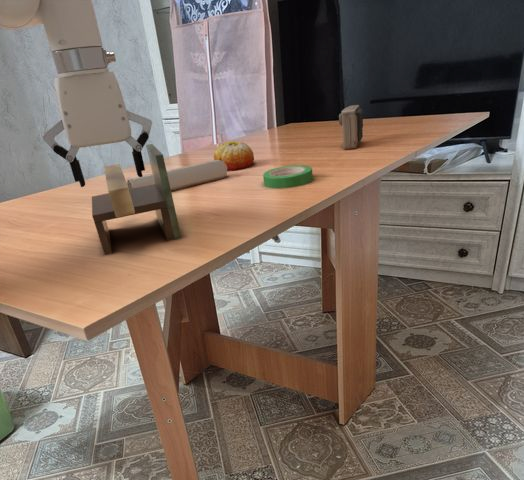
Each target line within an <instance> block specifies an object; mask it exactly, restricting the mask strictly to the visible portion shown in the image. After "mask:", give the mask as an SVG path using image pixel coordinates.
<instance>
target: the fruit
mask: <svg viewBox="0 0 524 480" xmlns="http://www.w3.org/2000/svg"><path fill="white" fill-rule="evenodd" d="M213 160H221V161H223V162H224V163H225V164H226V166H227V172H233V171H234V172H235V171H237V170H244V169H247V168H250V167H252V166H253V165H254V162H255V156H254V152H253V150H252V148H251V147H250V145H248V144H246V143H244V142H243V141H242V142H241V141H240V142H236V141H227V142H223V143H222V144H221V145H218V147H217V148H216V150H215V152H214V153H213Z"/></svg>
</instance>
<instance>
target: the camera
mask: <svg viewBox="0 0 524 480" xmlns="http://www.w3.org/2000/svg"><path fill="white" fill-rule="evenodd" d="M363 112H364V110H363V108H361V107H360V105H359V104H353V105H349V106H347V107H344V108H343V109H342V110H341V113H339V115H338V120H339V121H338V122H339V125H340V126H341V129H342V130H341V132H342V148H343V150H353V149H356V148H357V147H358V146H359V144H360V142H361V141H362V140H363V136H364V133H363V128H364V115H363V114H364V113H363Z"/></svg>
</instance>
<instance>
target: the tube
mask: <svg viewBox="0 0 524 480" xmlns="http://www.w3.org/2000/svg"><path fill="white" fill-rule="evenodd" d="M166 171H167V175H168V180H169V184H170V189H171V192H174V191H178V190H182V189H186V188H190V187H194V186H197V185H202V184H207V183H211V182H214V181H219V180H223V179H225V178H226V177H227V176H228V171H227V166H226V164H225V163H224V162H223V161H221V160H214V159H213V160H209V161H205V162H200V163H196V164H195V163H194V164H191V165H187V166H181V167H178V168H172V169H168V170H166ZM126 183H127V185H128V188H129V189H133V188H138V187H143V186H148V185H153V184H155V181H154V177H153V173H150V174H145V175H143V177H138V176H136V177H132V178H130V177H127V179H126Z"/></svg>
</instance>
